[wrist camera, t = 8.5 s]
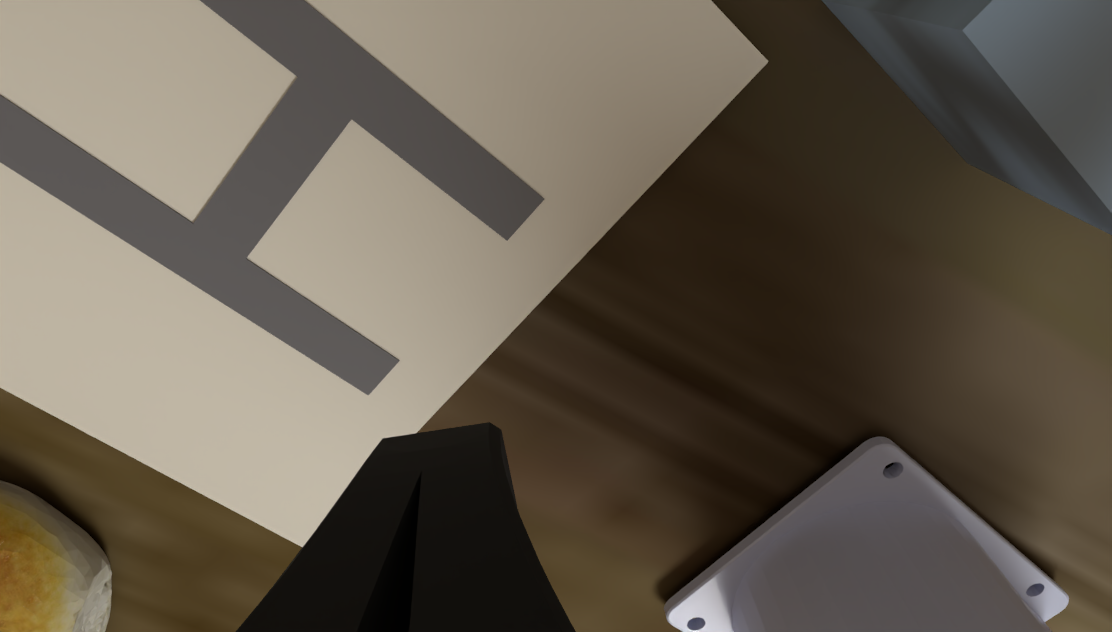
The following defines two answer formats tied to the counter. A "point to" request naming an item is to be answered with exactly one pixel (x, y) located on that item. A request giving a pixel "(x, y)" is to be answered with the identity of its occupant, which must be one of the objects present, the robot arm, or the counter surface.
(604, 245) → the counter surface
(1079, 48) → the slate-blue cube
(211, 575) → the counter surface
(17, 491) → the bread roll
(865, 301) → the counter surface
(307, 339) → the letter board
